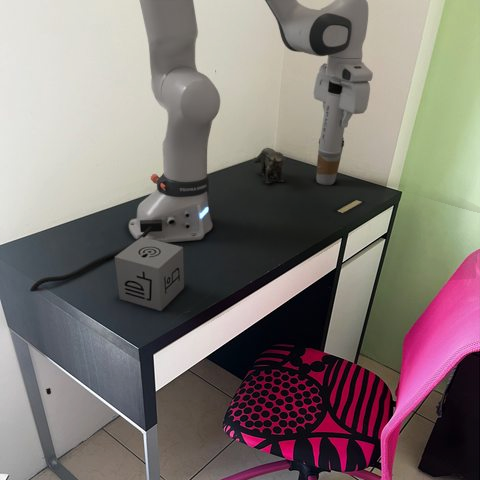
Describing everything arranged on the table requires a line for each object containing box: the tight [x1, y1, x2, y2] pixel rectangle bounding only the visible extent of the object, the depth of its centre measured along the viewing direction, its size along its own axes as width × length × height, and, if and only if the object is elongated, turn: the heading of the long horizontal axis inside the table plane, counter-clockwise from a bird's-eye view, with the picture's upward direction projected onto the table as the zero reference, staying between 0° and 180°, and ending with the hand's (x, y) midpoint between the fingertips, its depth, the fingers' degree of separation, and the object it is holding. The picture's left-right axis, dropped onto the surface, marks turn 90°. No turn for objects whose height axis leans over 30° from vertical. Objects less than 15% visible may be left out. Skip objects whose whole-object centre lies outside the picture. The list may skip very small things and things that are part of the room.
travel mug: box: [317, 80, 345, 158], centre depth 134 cm, size 6×7×20 cm
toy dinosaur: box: [252, 147, 286, 184], centre depth 162 cm, size 22×8×11 cm, turn 10°
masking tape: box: [337, 199, 362, 214], centre depth 148 cm, size 12×2×1 cm, turn 140°
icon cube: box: [114, 237, 185, 312], centre depth 101 cm, size 10×10×10 cm
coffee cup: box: [316, 137, 345, 186], centre depth 161 cm, size 8×8×15 cm
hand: (335, 123), depth 135 cm, fingers closed on travel mug, 6 cm apart
